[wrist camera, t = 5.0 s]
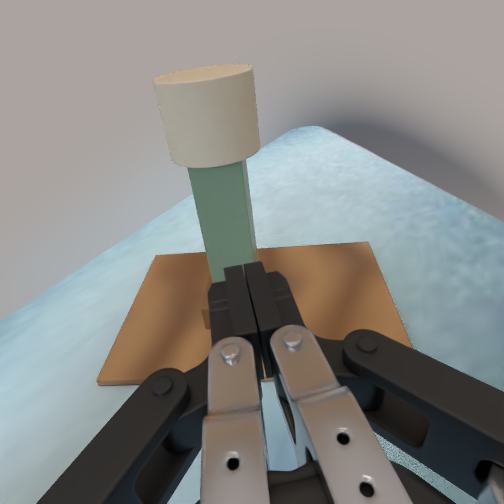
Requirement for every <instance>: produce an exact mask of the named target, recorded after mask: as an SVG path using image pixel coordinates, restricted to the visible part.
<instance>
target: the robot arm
mask: <svg viewBox="0 0 504 504" xmlns="http://www.w3.org/2000/svg"><path fill="white" fill-rule="evenodd" d="M243 267H244V271H243ZM243 267H242V264H241V265H236V266H230V267H225V268H224V275H225V281H221V282H216V283H212V284H211V287H210V289H209V291H208V293H207V294H208V304H209V305H208V306H209V317H210V329H211V340H212V347H211V350H210V352H209V355H208V356H207V358H206V359H205V360H204V361H203V362H202V363H201V364H199V365H198V366H196V367H194V368H192V369H190V370H188V371H186V372H184V373H183V372H182V371H181V370H179V369H176V368H163V369H160V370H157V371H155V372H154V373H152V374H151V375H149V376H148V377H147V378H146V379H145V380H144V381H143V383H142V384H141V385H140V386H139V387H138V388H137V389H136V391H135V392H134V393H133V394H132V395H131V396H130V397H129V398H128V400H127V401H126V402H125V403H124V404H123V405H122V406H121V408H120V409H119V410H118V411H117V412H116V413H115V414H114V416H113V417H112V418H111V419H110V420H109V421H108V422H107V424H106V425H105V426H104V427H103V428H102V429H101V430H100V432H99V433H98V434H97V435H96V436H95V437H94V438H93V440H92V441H91V442H90V443H89V444H88V445H87V446H86V448H85V449H84V450H83V451H82V452H81V453H80V454H79V456H78V457H77V458H76V459H75V460H74V461H73V462H72V464H71V465H70V466H69V467H68V468H67V469H66V470H65V471H64V473H63V474H62V475H61V476H60V477H59V478H58V479H57V481H56V482H55V483H54V484H53V485H52V486H51V487H50V489H49V490H48V491H47V492H46V493H45V494H44V495H43V497H42V498H41V499H40V500H39V501H38V502H37V503H36V504H167V502H168V501H169V499H170V498H171V496H172V494H173V493H174V491H175V490H176V488H177V486H178V485H179V483H180V482H181V480H182V478H183V477H184V475H185V474H186V472H187V470H188V469H189V467H190V466H191V464H192V462H193V461H194V459H195V458H196V456H197V454H198V453H199V451H200V450H201V448H202V457H201V488H200V500H199V501H198V502H197V503H195V504H456V503H455V502H453V501H452V500H451V499H449V498H448V497H447V496H445V495H444V494H442V493H441V492H440V491H438V490H437V489H436V488H434V487H433V486H431V485H430V484H429V483H427V482H426V481H425V480H423V479H422V478H420V477H419V476H418V475H416V474H415V473H413V472H412V471H411V470H409V469H407V468H405V467H404V466H402V465H400V464H398V463H395V462H393V461H391V460H389V459H388V457H387V455H386V454H385V452H384V450H383V448H382V446H381V445H380V443H379V441H378V439H377V437H376V435H375V434H374V432H375V433H377V434H378V435H380V436H381V437H383V438H384V439H386V440H387V441H389V442H390V443H392V444H393V445H395V446H396V447H398V448H399V449H401V450H402V451H404V452H405V453H407V454H409V455H410V456H412V457H413V458H415V459H416V460H418V461H419V462H421V463H422V464H424V465H425V466H427V467H428V468H430V469H431V470H433V471H434V472H436V473H437V474H439V475H440V476H442V477H443V478H445V479H446V480H448V481H449V482H451V483H452V484H454V485H455V486H457V487H458V488H460V489H461V490H463V491H464V492H466V493H467V494H469V495H470V496H472V497H473V498H475V499H476V500H478V503H479V504H504V392H502V391H500V390H498V389H496V388H494V387H492V386H490V385H488V384H486V383H483V382H481V381H479V380H477V379H475V378H473V377H471V376H469V375H467V374H465V373H462V372H460V371H458V370H456V369H454V368H452V367H450V366H448V365H446V364H444V363H441V362H439V361H437V360H435V359H433V358H431V357H429V356H427V355H425V354H423V353H420V352H418V351H416V350H414V349H412V348H410V347H408V346H406V345H404V344H402V343H399V342H397V341H395V340H393V339H391V338H389V337H387V336H385V335H383V334H381V333H378V332H376V331H373V330H369V329H358V330H354V331H352V332H350V333H348V334H347V335H346V337H345V338H344V340H333V339H325V338H321V337H318V336H316V335H314V334H313V333H312V332H311V331H310V330H308V329H307V328H306V326H305V324H304V322H303V319H302V317H301V314H300V312H299V309H298V307H297V304H296V302H295V299H294V297H293V294H292V292H291V289H290V287H289V284H288V282H287V279H286V278H285V277H284V276H283V275H282V274H281V273H279V272H278V271H274V272H269V273H266V272H265V269H264V266H263V263H262V261H257V262H251V263H246V264H243ZM244 274H245V276H244ZM261 356H262V357H261ZM262 361H263V363H262ZM263 365H264V369H265V374H266V378H267V379H268V378H272V377H273V379H274V383H275V387H276V394H277V400H278V403H279V406H280V409H281V412H282V415H283V418H284V421H285V424H286V426H287V429H288V432H289V435H290V438H291V441H292V444H293V447H294V450H295V454H296V457H297V462H298V466H299V468H297V469H295V470H293V471H270V465H269V458H268V450H267V441H266V433H265V425H264V417H263V408H262V388H261V382H260V380H263V379H265V377H264V370H263ZM373 431H374V432H373Z"/></svg>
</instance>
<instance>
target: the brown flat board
mask: <svg viewBox="0 0 504 504" xmlns="http://www.w3.org/2000/svg"><path fill="white" fill-rule="evenodd" d="M257 256H258V261H262V263H263V266H264V269H265V270H273V271H278V272H279V273H281V274H282V275H283V276H284V277H285V278H286V279H287V282H288V284H289V287H290V289H291V292H292V294H293V297H294V299H295V302H296V304H297V307H298V309H299V312H300V314H301V317H302V319H303V322H304V324H305V326H306V328H307V329H308V330H310V331H311V332H312V333H313V334H314V335H316V336H318V337H321V338H325V339H333V340H344V338H345V337H346V335H347V334H348V333H350V332H352V331H354V330H358V329H369V330H373V331H376V332H378V333H381V334H383V335H385V336H387V337H389V338H391V339H393V340H395V341H397V342H399V343H402V344H404V345H406V346H408V347H410V348H412V345H411V343H410V340H409V338H408V336H407V333H406V331H405V329H404V326H403V324H402V321H401V319H400V317H399V314H398V312H397V309H396V307H395V305H394V302H393V300H392V297H391V295H390V293H389V290H388V288H387V286H386V283H385V281H384V278H383V276H382V274H381V271H380V269H379V266H378V264H377V262H376V259H375V257H374V255H373V252H372V250H371V247H370V245H369V243H368V242H355V243H340V244H324V245H309V246H293V247H277V248H262V249H257ZM209 274H210V268H209V264H208V259H207V254H206V252H199V253H184V254H168V255H156V256H155V258H154V260H153V262H152V264H151V266H150V268H149V271H148V273H147V275H146V277H145V279H144V281H143V283H142V285H141V287H140V289H139V292H138V294H137V296H136V298H135V300H134V302H133V304H132V306H131V308H130V311H129V313H128V315H127V317H126V319H125V321H124V323H123V325H122V327H121V330H120V332H119V334H118V336H117V338H116V340H115V342H114V344H113V346H112V349H111V351H110V353H109V355H108V357H107V359H106V361H105V363H104V365H103V368H102V370H101V372H100V374H99V376H98V378H97V380H96V381H97V383H98V385H130V384H142V383H143V381H144V380H145V379H146V378H147V377H148V376H149V375H151V374H152V373H154V372H155V371H157V370H160V369H163V368H176V369H179V370H181V371H182V372H183V373H184V372H186V371H188V370H190V369H192V368H194V367H196V366H198V365H199V364H201V363H202V362H203V361H204V360H205V359H206V358H207V356H208V355H209V352H210V350H211V347H212V340H211V329H206V328H205V324H204V320H203V316H202V312H201V306H202V302H203V297H204V293H205V289H206V285H207V281H208V276H209ZM412 349H413V348H412ZM261 357H262V356H261ZM262 363H263V361H262ZM263 370H264V377H265V379H263V380H260V381H274V379H273V377H272V378H268V379H267V378H266V374H265V369H264V365H263Z"/></svg>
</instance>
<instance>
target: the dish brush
mask: <svg viewBox="0 0 504 504" xmlns="http://www.w3.org/2000/svg"><path fill="white" fill-rule="evenodd" d="M153 85H154V89H155V93H156V97H157V101H158V106H159V110H160V114H161V118H162V122H163V126H164V130H165V134H166V138H167V143H168V147H169V151H170V155H171V159H172V161H173V162H174V163H175V164H177V165H179V166H183V167H187V168H188V172H189V177H190V181H191V186H192V191H193V195H194V200H195V204H196V209H197V213H198V218H199V222H200V227H201V232H202V236H203V241H204V245H205V250H206V254H207V259H208V264H209V268H210V274H209V276H208V281H207V285H206V289H205V293H204V297H203V302H202V306H201V312H202V316H203V320H204V324H205V328H206V329H210V317H209V306H208V305H209V304H208V294H207V293H208V291H209V289H210V287H211V284H212V283H216V282H221V281H225V275H224V268H225V267H230V266H236V265H241V264H242V267H243V264H246V263H251V262H257V261H258V256H257V248H256V240H255V231H254V223H253V215H252V206H251V198H250V190H249V182H248V173H247V165H246V159H247V158H249V157H251V156H253V155H254V154H256V153H257V152H258V151H259V149H260V138H259V128H258V117H257V106H256V95H255V85H254V75H253V67H252V66H250V65H241V64H239V65H237V64H234V65H218V66H209V67H201V68H195V69H189V70H183V71H178V72H173V73H170V74H166V75H162V76H159V77H157V78H155V79H154V80H153ZM243 271H244V267H243ZM265 272H266V273H269V272H274V271H273V270H265ZM244 276H245V274H244Z"/></svg>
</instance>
